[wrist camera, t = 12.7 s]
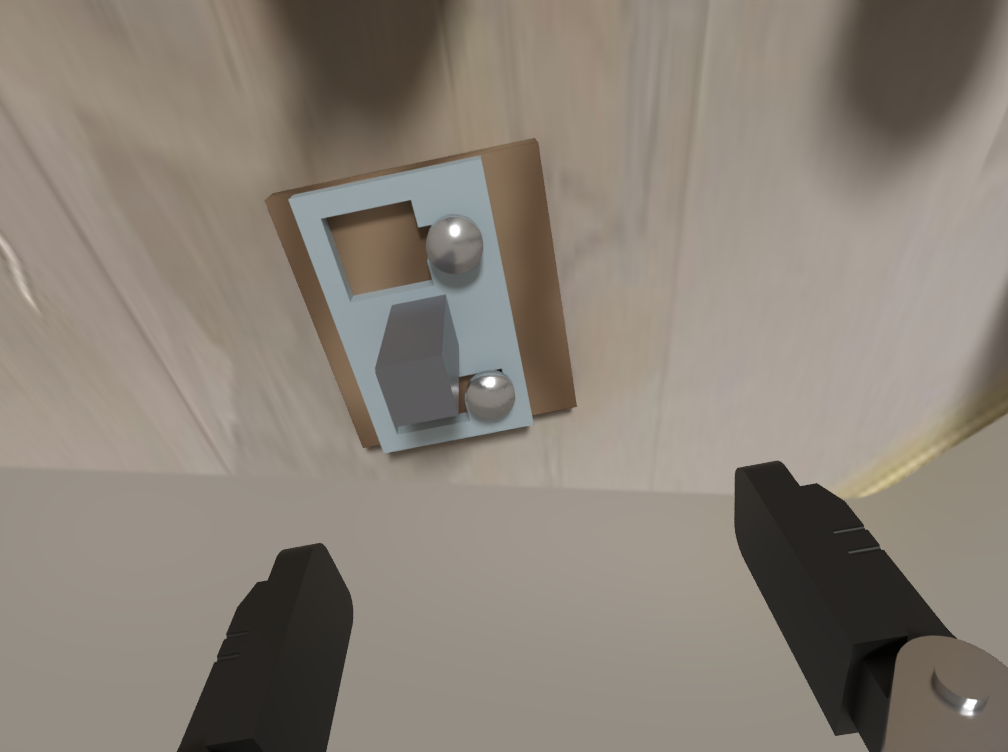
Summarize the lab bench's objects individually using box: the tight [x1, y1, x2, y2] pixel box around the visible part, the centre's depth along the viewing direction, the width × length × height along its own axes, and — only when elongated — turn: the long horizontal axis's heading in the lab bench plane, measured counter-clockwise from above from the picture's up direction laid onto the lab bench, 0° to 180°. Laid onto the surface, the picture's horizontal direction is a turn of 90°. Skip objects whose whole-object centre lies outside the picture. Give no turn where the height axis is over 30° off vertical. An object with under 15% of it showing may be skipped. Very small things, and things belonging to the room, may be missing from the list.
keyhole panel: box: [288, 155, 534, 453], centre depth 29 cm, size 10×16×8 cm, turn 11°
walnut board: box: [265, 138, 577, 448], centre depth 32 cm, size 14×16×4 cm
